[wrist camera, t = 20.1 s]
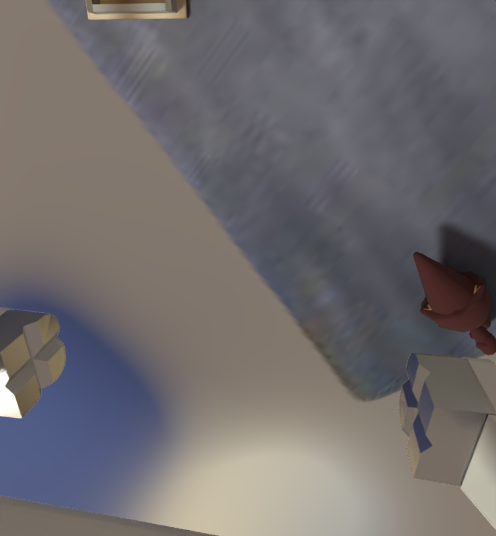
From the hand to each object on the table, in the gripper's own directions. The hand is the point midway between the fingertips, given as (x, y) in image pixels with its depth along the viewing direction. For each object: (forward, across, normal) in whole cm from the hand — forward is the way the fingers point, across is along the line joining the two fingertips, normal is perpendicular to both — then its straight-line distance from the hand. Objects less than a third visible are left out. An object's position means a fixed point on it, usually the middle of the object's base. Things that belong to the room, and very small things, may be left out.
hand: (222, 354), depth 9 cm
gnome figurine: (+37, -18, +16) cm, 45 cm away
